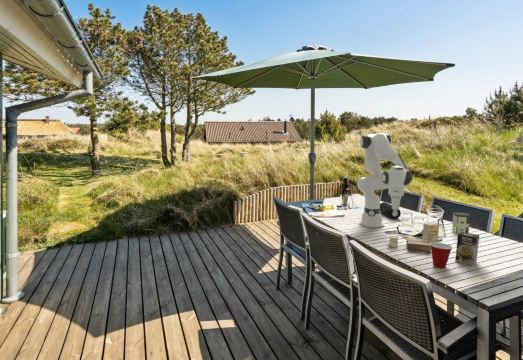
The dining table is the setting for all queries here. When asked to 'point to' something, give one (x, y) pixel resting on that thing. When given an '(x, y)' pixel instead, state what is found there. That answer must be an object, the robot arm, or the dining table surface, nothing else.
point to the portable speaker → (389, 210)
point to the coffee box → (467, 248)
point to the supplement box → (431, 232)
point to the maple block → (393, 241)
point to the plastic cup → (440, 254)
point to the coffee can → (460, 222)
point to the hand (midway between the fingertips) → (394, 213)
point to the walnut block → (418, 245)
